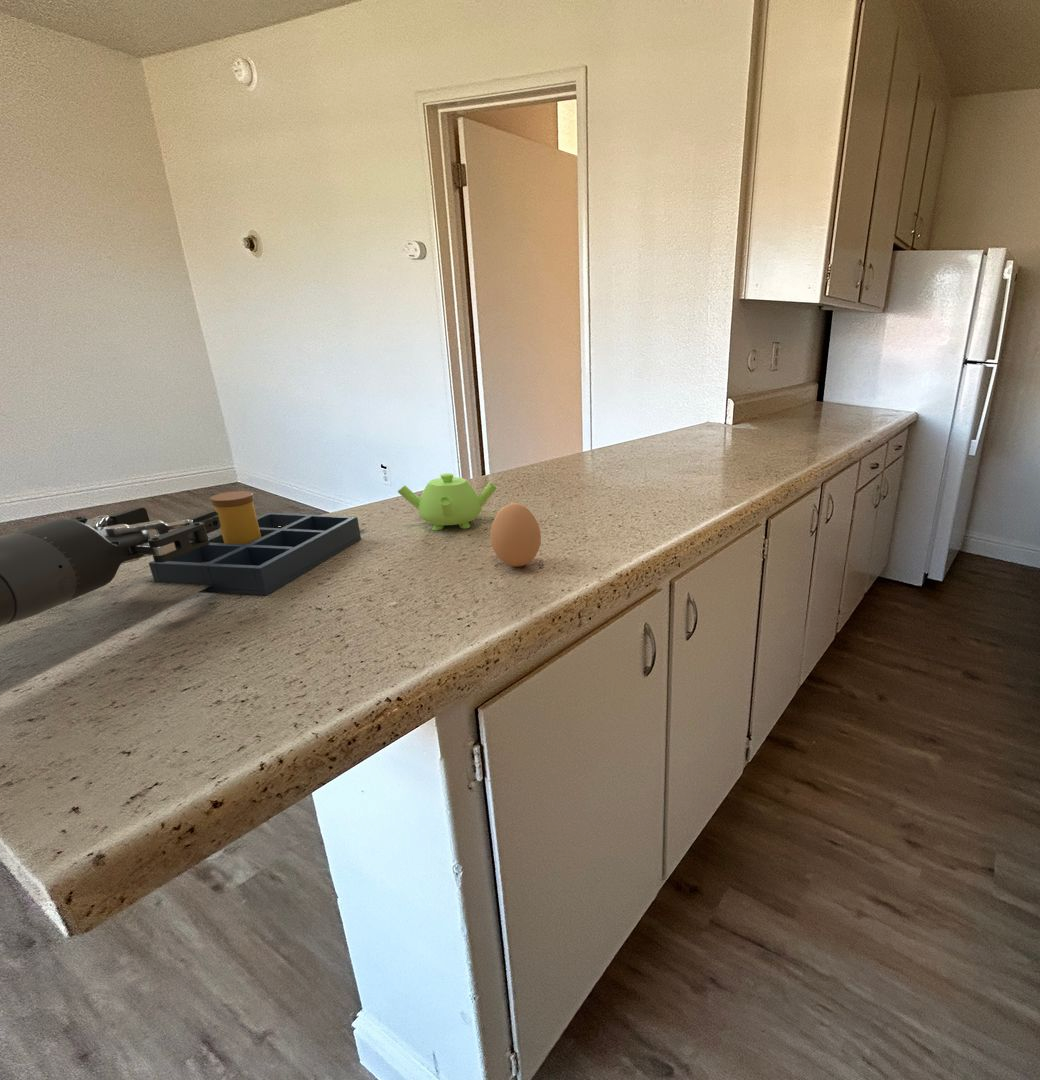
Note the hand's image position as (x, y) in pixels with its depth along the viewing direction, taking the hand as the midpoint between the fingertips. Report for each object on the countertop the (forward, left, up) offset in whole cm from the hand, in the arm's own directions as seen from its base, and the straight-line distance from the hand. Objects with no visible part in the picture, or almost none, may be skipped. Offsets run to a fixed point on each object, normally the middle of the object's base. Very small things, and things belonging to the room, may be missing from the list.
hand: (180, 517), depth 71 cm
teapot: (+20, +26, -9) cm, 34 cm away
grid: (+3, +8, -9) cm, 12 cm away
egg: (+36, +11, -9) cm, 39 cm away
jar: (0, +8, -8) cm, 11 cm away
